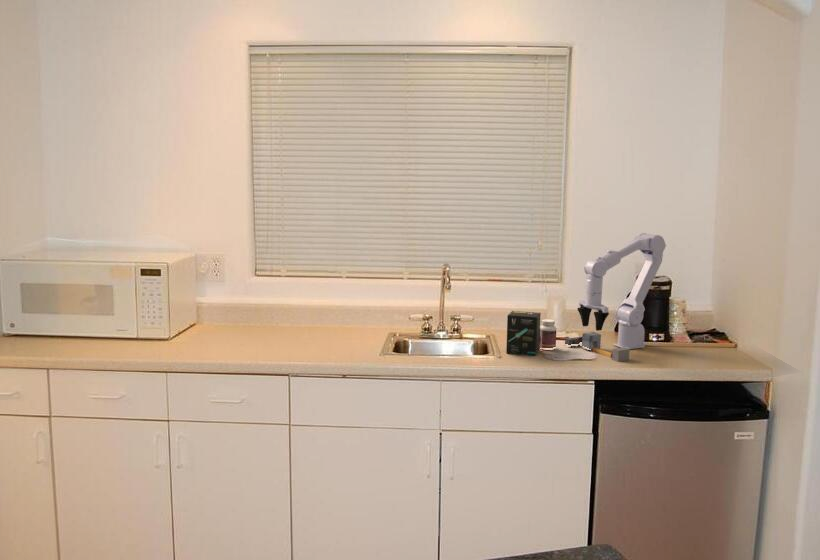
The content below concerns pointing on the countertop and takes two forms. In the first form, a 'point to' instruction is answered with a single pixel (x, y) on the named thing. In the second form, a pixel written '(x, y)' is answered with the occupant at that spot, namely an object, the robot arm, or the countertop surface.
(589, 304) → the robot arm
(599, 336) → the sleeve
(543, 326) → the pill bottle
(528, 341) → the tampon box
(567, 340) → the comb
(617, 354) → the hammer
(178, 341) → the countertop surface
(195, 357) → the countertop surface
